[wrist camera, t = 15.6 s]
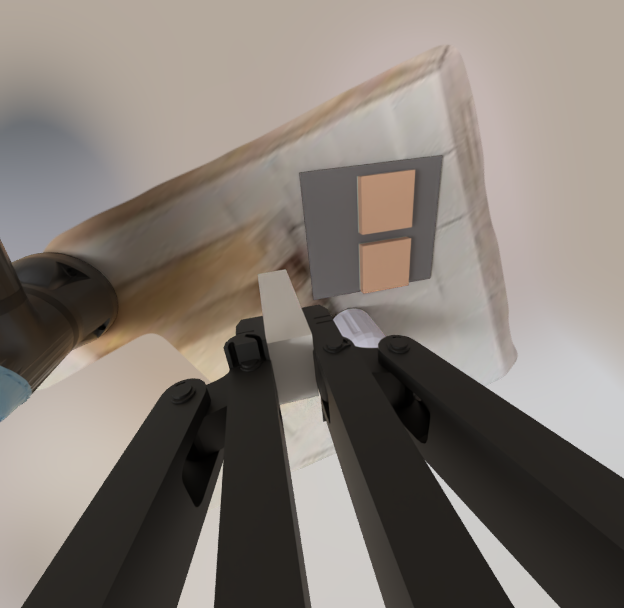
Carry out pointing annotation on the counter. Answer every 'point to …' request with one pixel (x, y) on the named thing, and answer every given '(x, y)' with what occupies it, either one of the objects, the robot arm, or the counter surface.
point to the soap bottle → (359, 328)
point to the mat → (344, 223)
